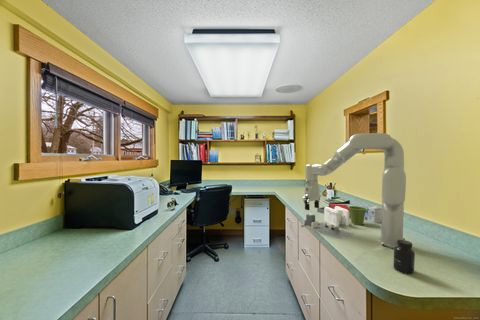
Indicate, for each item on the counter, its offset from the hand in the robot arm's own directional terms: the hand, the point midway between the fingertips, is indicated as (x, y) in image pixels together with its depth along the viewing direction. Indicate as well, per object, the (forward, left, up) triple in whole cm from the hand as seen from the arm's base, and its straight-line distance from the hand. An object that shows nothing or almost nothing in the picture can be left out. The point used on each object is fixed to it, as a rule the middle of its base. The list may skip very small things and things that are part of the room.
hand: (312, 208), depth 137 cm
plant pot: (-11, -36, -13) cm, 40 cm away
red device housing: (+12, -53, -13) cm, 56 cm away
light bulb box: (-13, -53, -13) cm, 56 cm away
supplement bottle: (-54, +11, -13) cm, 56 cm away
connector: (+1, 0, -11) cm, 11 cm away
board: (-9, -2, -13) cm, 16 cm away
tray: (+12, -53, -13) cm, 56 cm away
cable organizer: (-5, -20, -13) cm, 25 cm away
